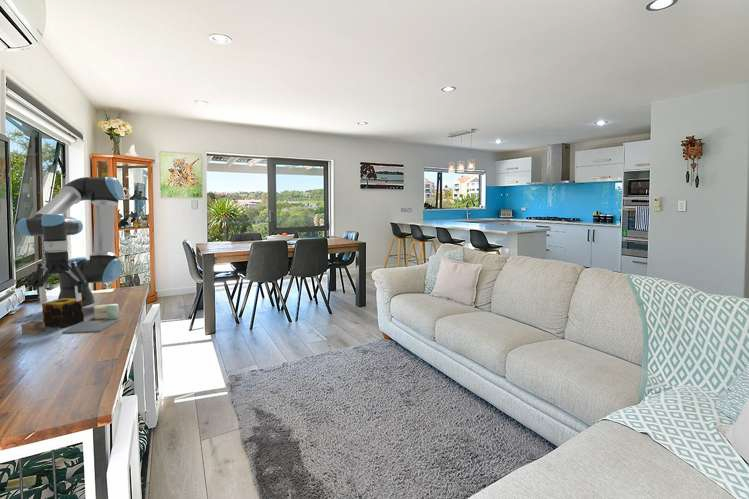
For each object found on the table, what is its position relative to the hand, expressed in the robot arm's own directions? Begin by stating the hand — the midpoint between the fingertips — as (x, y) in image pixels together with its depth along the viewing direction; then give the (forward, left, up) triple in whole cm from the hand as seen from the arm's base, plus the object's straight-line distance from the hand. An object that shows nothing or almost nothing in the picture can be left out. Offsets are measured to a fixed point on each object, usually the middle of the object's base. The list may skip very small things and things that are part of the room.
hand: (61, 301), depth 170 cm
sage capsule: (-5, +17, -10) cm, 20 cm away
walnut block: (+10, -5, -10) cm, 15 cm away
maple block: (-8, +11, -10) cm, 17 cm away
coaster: (+7, +14, -10) cm, 18 cm away
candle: (0, 0, -10) cm, 10 cm away
